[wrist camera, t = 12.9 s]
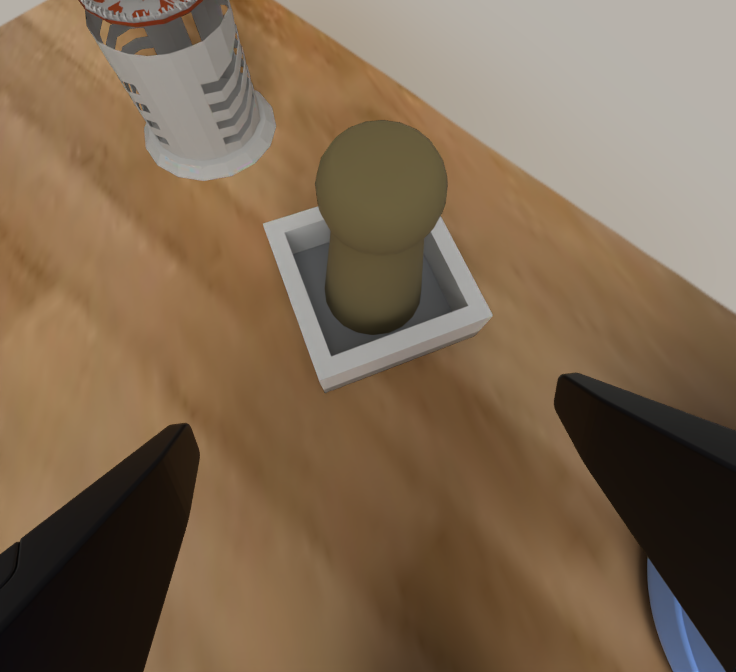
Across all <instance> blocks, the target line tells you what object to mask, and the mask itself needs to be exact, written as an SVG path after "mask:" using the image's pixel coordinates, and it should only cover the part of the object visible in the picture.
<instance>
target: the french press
mask: <svg viewBox="0 0 736 672" xmlns="http://www.w3.org/2000/svg"><path fill="white" fill-rule="evenodd" d="M79 2H80V3H81V4H82V6H83V7H84V8H85V14H86V24H87V27H88V29H89V31H90V32H91V34H92V35H93V37H94V39H95V40H96V42H97V44H98V45H99V47H100V49H101V50H102V52H103V54H104V55H105V57H106V59H107V60H108V62H109V64H110V65H111V67H112V68H113V69H114V71H115V72H116V74H117V76H118V78H119V79H120V81H121V83H122V84H123V82H124V83H125V86H126V87H125V86H124V84H123V86H124V88H125V89H126V88H127V89H126V90H127V92H128V93H129V95H130V97H131V99H132V100H133V102H134V104H135V102H136V104H135V105H136V107H137V108H138V110H139V112H140V113H141V115H142V116H143V118H144V119H145V121H146V122H147V123H146V125H145V128H144V131H145V143H146V149H147V150H148V152H149V153H150V155H151V156H152V158H153V159H154V160H155V162H156V163H157V165H158V166H160V167H162V168H164V169H165V170H167V171H169V172H171V173H172V174H174V175H176V176H178V177H182V178H189V179H196V180H203V181H206V180H212V179H217V178H223V177H229V176H233V175H234V174H236V173H238V172H240V171H242V170H244V169H246V168H248V167H249V166H251V165H253V164H255V163H256V162H257V160H258V159H259V158H260V157H261V156H262V155H263V154H264V153H265V151H266V150H267V149H268V148H269V147H270V145H271V142H272V138H273V135H274V132H275V129H276V123H275V119H274V114H273V109H272V107H271V106H270V104H269V103H268V102H267V101H266V100H265V98H264V97H263V96H262V95H261V94H260V92H258V91H256V90H254V88H253V84H252V82H251V78H250V73H249V70H248V66H247V65H246V60H245V55H244V52H243V48H242V46H241V44H240V40H239V35H238V31H237V27H236V24H235V23H234V18H233V12H232V9H231V6H230V2H229V0H79ZM220 4H221V5H226V6H227V7H228V10H227V12H226V14H225V15H223V13H222V10H221V6H220ZM190 12H191V13H192V16H193V19H194V21H195V24H196V27H197V29H198V32H199V35H200V37H201V40H202V42H199V43H197V44H195V45H192V43H191V41H190V38H189V36H188V33H187V31H186V28H185V26H184V23H183V21H182V18H181V16H184V15H186V14H188V13H190ZM102 19H103V20H105V21H107V22H109V23H111V24H112V25H110V28H109V32H108V37H107V41H106V45H107V46H106V45H104V44H103V42H102V39H101V37H100V29H101V24H102ZM132 28H144V29H145V31H146V33H147V35H148V36H147V37H141V38H136V39H134V40H132V41H131V42H129V43H128V44H126V45H125V46H123V47H122V51H118V50H115V45H116V40H117V37H118V36H120V35H121V34H123V33H124V32H126V31H127V30H129V29H132ZM235 33H237V37H238V41H237V39H236V38H235ZM146 48H154V49H155V51H156V53H157V55H154V56H142V55H134V54H135V53H136V52H138V51H139V50H141V49H146ZM233 48H237V55H235V53H234V49H233ZM242 54H243V59H244V61H243V59H242V58H241V57H242ZM240 66H241V67H244V68H243V73H240ZM247 73H248V76H249V78H248V77H247ZM128 83H129V84H130V86H131V89H132V92H133V93H132V92H131V91H130V88H129V86H128ZM136 89H137V91H138V92H139V94H140V95H139V94H136ZM139 103H140V104H141V105H142V109H143V111H142V110H141V109H140V107H139Z"/></svg>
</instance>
